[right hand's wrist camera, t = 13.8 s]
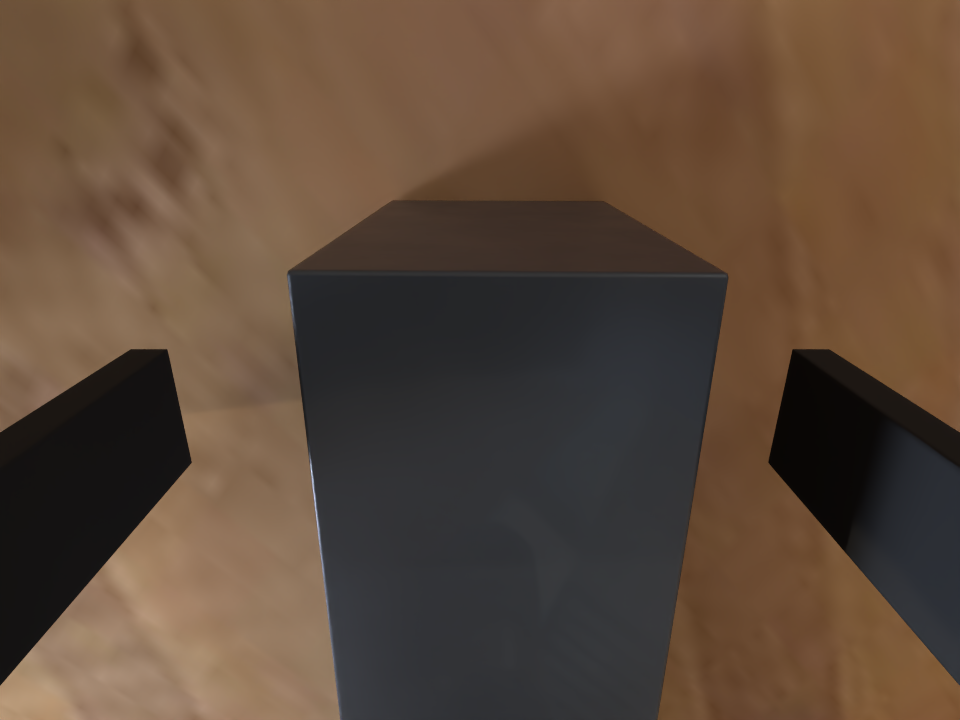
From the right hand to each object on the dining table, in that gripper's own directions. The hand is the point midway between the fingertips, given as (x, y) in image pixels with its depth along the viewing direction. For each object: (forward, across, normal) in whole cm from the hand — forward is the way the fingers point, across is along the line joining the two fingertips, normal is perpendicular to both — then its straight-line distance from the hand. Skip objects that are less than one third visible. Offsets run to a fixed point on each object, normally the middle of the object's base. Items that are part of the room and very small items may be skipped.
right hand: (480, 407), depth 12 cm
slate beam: (+5, 0, -14) cm, 15 cm away
